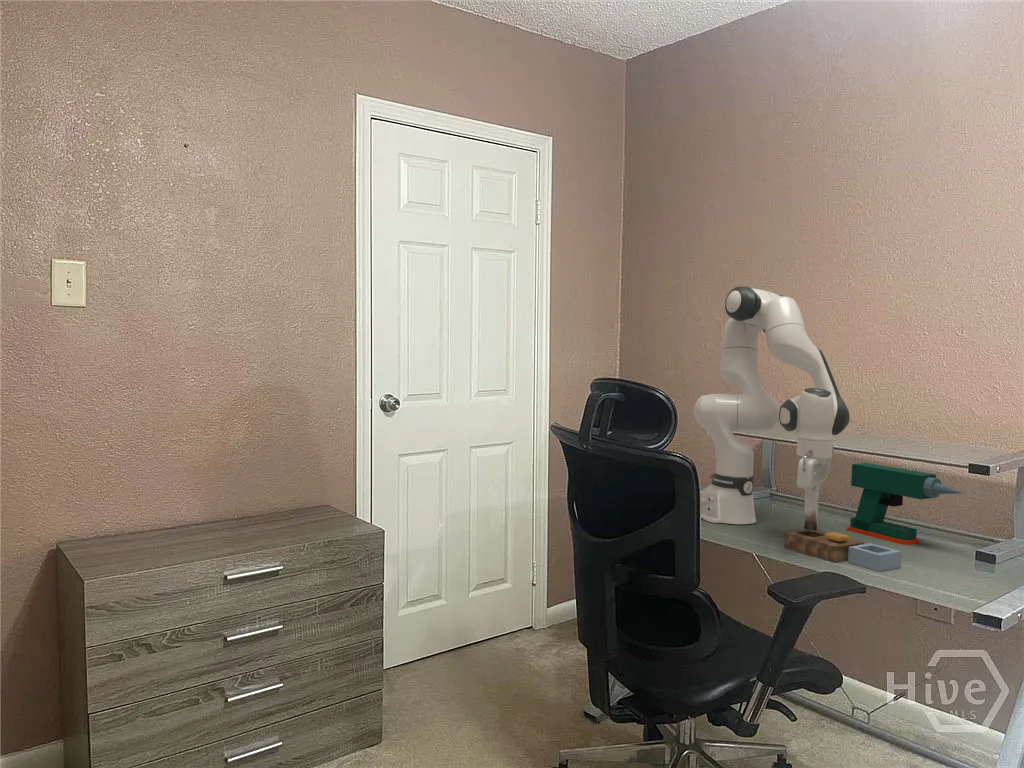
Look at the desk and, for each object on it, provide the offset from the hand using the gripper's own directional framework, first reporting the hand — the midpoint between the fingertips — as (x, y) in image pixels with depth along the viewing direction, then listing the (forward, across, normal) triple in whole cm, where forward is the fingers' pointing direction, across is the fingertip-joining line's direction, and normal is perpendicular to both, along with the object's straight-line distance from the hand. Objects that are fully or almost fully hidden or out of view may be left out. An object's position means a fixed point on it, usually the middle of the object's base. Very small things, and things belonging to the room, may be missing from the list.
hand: (811, 500), depth 207 cm
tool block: (+13, -2, -4) cm, 14 cm away
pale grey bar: (+8, 0, 0) cm, 8 cm away
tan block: (+12, -4, -8) cm, 15 cm away
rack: (+13, -6, -17) cm, 22 cm away
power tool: (+14, +26, -20) cm, 35 cm away
